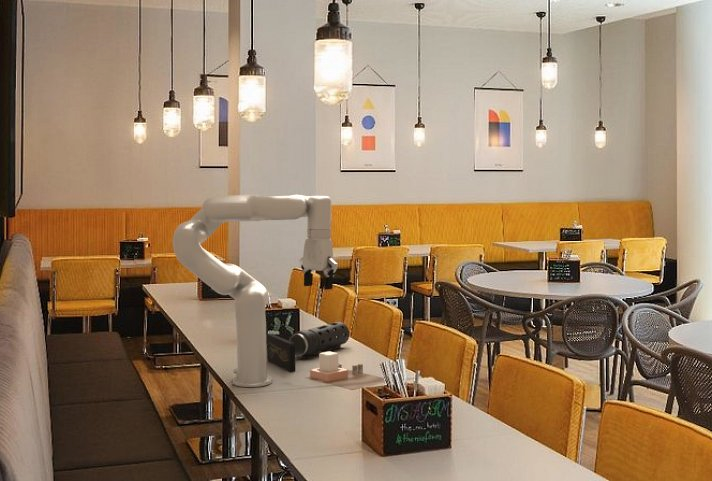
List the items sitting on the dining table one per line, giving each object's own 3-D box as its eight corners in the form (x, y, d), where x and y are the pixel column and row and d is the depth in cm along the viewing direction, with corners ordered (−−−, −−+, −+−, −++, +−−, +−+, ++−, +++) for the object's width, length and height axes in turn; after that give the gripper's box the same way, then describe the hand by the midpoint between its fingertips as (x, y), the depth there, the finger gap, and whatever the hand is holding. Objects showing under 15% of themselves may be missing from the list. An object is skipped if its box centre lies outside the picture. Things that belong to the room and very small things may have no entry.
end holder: (310, 377, 292) (310, 369, 292) (330, 372, 298) (330, 365, 298) (327, 381, 286) (327, 374, 286) (348, 377, 292) (348, 369, 292)
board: (304, 380, 292) (304, 368, 292) (344, 371, 304) (344, 360, 304) (352, 393, 275) (351, 380, 275) (392, 383, 288) (392, 370, 287)
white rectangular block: (319, 377, 292) (319, 353, 292) (329, 375, 295) (329, 351, 295) (328, 379, 289) (328, 355, 288) (338, 377, 292) (338, 353, 291)
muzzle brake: (350, 348, 345) (350, 321, 344) (308, 362, 321) (307, 333, 320) (329, 346, 350) (329, 319, 349) (286, 359, 326) (286, 331, 325)
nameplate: (267, 361, 323) (266, 334, 322) (271, 360, 324) (271, 333, 323) (290, 372, 304) (289, 343, 303) (295, 372, 305) (294, 343, 304)
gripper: (292, 233, 289) (291, 285, 290) (328, 236, 276) (327, 291, 278) (310, 232, 294) (309, 283, 295) (346, 236, 282) (345, 289, 283)
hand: (318, 287), depth 287 cm, fingers open, 9 cm apart
